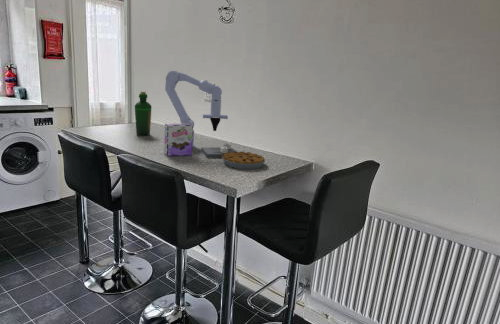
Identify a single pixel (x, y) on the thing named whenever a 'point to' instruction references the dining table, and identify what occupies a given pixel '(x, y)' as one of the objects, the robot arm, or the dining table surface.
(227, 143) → the slider back
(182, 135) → the candy box
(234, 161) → the pie
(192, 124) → the robot arm
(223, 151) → the slider front
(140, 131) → the bottle
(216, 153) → the control box
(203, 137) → the dining table surface
